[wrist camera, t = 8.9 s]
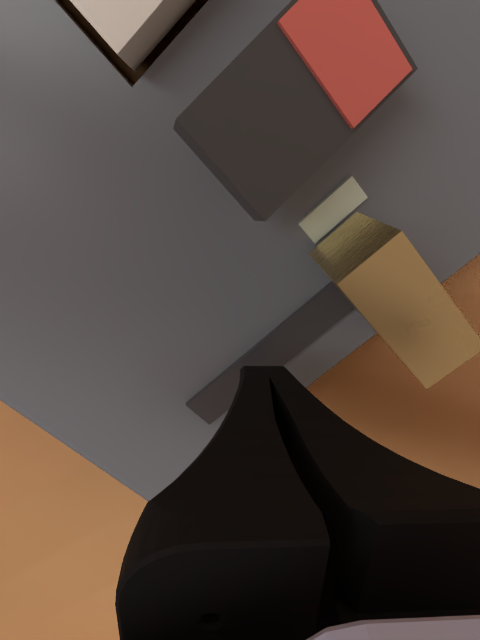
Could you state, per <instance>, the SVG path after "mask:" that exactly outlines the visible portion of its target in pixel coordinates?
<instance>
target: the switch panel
mask: <svg viewBox="0 0 480 640" xmlns="http://www.w3.org/2000/svg"><path fill="white" fill-rule="evenodd" d="M291 1H292V0H208V1H207V2H206V3H205V5H204V6H203V7H202V8H201V9H200V10H199V11H198V13H197V14H196V15H195V16H194V17H193V18H192V19H191V21H190V22H189V23H188V24H187V25H186V26H185V27H184V28H183V30H182V31H181V32H180V33H179V34H178V35H177V36H176V38H175V39H174V40H173V41H172V42H171V43H170V44H169V46H168V47H167V48H166V49H165V50H164V51H163V52H162V54H161V55H160V56H159V57H158V58H157V59H156V60H155V61H154V63H153V64H152V65H151V66H150V67H149V68H148V69H147V71H146V72H145V73H144V74H143V75H142V76H141V77H140V79H139V80H138V81H137V82H136V83H135V84H134V85H132V84H131V83H130V81H129V80H128V79H127V78H126V77H125V76H124V75H123V74H122V72H121V71H120V70H119V69H118V68H117V67H116V66H115V64H114V63H113V62H112V61H111V60H110V59H109V58H108V57H107V55H106V54H105V53H104V52H103V51H102V50H101V49H100V48H99V46H98V45H97V44H96V43H95V42H94V41H93V40H92V39H91V37H90V36H89V35H88V34H87V33H86V32H85V31H84V29H83V28H82V27H81V26H80V25H79V24H78V23H77V22H76V20H75V19H74V18H73V17H72V16H71V15H70V14H69V13H68V11H67V10H66V9H65V8H64V7H63V6H62V5H61V4H60V2H59V1H58V0H0V400H1V401H2V402H4V403H5V404H7V405H8V406H10V407H11V408H13V409H14V410H16V411H17V412H19V413H20V414H21V415H23V416H24V417H26V418H27V419H29V420H30V421H32V422H33V423H35V424H36V425H38V426H39V427H40V428H42V429H43V430H45V431H46V432H48V433H49V434H51V435H52V436H54V437H55V438H57V439H58V440H59V441H61V442H62V443H64V444H65V445H67V446H68V447H70V448H71V449H73V450H74V451H76V452H77V453H78V454H80V455H81V456H83V457H84V458H86V459H87V460H89V461H90V462H92V463H93V464H95V465H96V466H97V467H99V468H100V469H102V470H103V471H105V472H106V473H108V474H109V475H111V476H112V477H114V478H115V479H116V480H118V481H119V482H121V483H122V484H124V485H125V486H127V487H128V488H130V489H131V490H133V491H134V492H135V493H137V494H138V495H140V496H141V497H143V498H144V499H146V500H147V501H150V500H151V499H152V498H154V497H155V496H156V495H157V494H159V493H160V492H161V491H162V490H163V489H165V488H166V487H167V486H168V485H170V484H171V483H172V482H173V481H174V480H175V479H176V478H178V477H179V476H180V474H181V473H182V472H183V471H184V470H185V469H186V468H187V467H188V466H189V465H190V464H191V463H192V462H193V461H194V460H195V459H196V458H197V457H198V456H199V454H200V453H201V452H202V451H203V449H204V448H205V447H206V446H207V444H208V443H209V442H210V440H211V439H212V438H213V436H214V435H215V433H216V432H217V430H218V428H219V427H220V425H221V423H222V422H223V420H224V418H225V416H226V414H227V412H228V410H229V408H230V406H231V404H232V402H233V400H234V397H235V394H236V391H237V389H238V385H239V382H240V369H241V368H242V367H243V366H284V367H285V368H286V369H287V370H288V371H289V372H290V373H291V374H292V375H293V376H294V377H295V378H296V379H297V380H298V381H299V382H300V383H301V384H302V385H303V386H304V387H305V388H306V387H308V386H309V385H310V384H311V383H313V382H314V381H315V380H317V379H318V378H319V377H321V376H322V375H323V374H324V373H326V372H327V371H328V370H330V369H331V368H332V367H333V366H335V365H336V364H337V363H339V362H340V361H341V360H343V359H344V358H345V357H346V356H348V355H349V354H350V353H352V352H353V351H354V350H355V349H357V348H358V347H359V346H361V345H362V344H363V343H365V342H366V341H367V340H368V339H370V338H371V337H372V336H374V335H375V334H376V332H375V331H374V330H373V329H372V328H371V326H370V325H369V324H368V323H367V322H366V321H365V319H364V318H363V317H362V316H361V315H360V314H359V312H358V311H357V310H356V309H355V308H354V307H353V305H352V304H351V303H350V302H349V301H348V300H347V298H346V297H345V296H344V295H343V294H342V293H341V291H340V290H339V289H338V288H337V287H336V285H335V284H334V283H333V282H332V281H331V280H330V278H329V277H328V276H327V275H326V274H325V273H324V271H323V270H322V269H321V268H320V267H319V266H318V264H317V263H316V262H315V261H314V260H313V259H312V257H311V256H310V255H309V254H308V253H310V252H311V251H312V250H313V249H314V248H315V247H316V246H318V245H319V244H320V243H321V242H322V241H323V240H324V239H326V238H327V237H328V236H329V235H330V234H331V233H333V232H334V231H335V230H336V229H337V228H338V227H339V226H341V225H342V224H343V223H344V222H345V221H346V220H347V219H349V218H350V217H351V216H352V215H353V214H354V213H356V212H358V213H361V214H363V215H365V216H368V217H370V218H373V219H375V220H377V221H380V222H382V223H385V224H387V225H390V226H392V227H394V228H397V229H399V230H402V232H403V233H404V234H405V236H406V237H407V238H408V240H409V241H410V243H411V244H412V245H413V247H414V248H415V249H416V251H417V252H418V254H419V255H420V256H421V258H422V259H423V260H424V262H425V263H426V265H427V266H428V267H429V269H430V270H431V271H432V273H433V274H434V276H435V277H436V278H437V280H438V281H439V282H440V284H441V283H442V282H443V281H445V280H446V279H447V278H449V277H450V276H451V275H453V274H454V273H455V272H456V271H458V270H459V269H460V268H462V267H463V266H464V265H465V264H467V263H468V262H469V261H471V260H472V259H473V258H475V257H476V256H477V255H478V254H480V0H377V1H378V3H379V4H380V6H381V8H382V9H383V11H384V13H385V14H386V16H387V18H388V19H389V21H390V23H391V24H392V26H393V28H394V29H395V31H396V33H397V34H398V36H399V38H400V39H401V41H402V43H403V44H404V46H405V48H406V49H407V51H408V53H409V54H410V56H411V58H412V59H413V61H414V63H415V64H416V66H417V68H418V69H417V70H416V71H415V72H414V73H413V74H412V75H411V76H410V77H409V78H408V79H407V80H406V81H405V82H404V83H403V84H402V85H401V86H400V87H399V88H398V89H397V90H396V91H395V92H394V93H393V94H392V95H391V96H390V97H389V98H388V99H387V100H386V101H385V102H384V103H383V104H382V105H381V106H380V107H379V108H378V109H377V110H376V111H375V112H374V113H373V114H372V115H371V116H370V117H369V118H368V119H367V120H366V121H365V122H364V123H363V124H362V125H361V126H360V127H359V128H358V129H357V130H356V131H355V132H354V133H353V134H352V135H351V136H350V137H349V138H348V139H347V140H346V141H345V142H344V143H343V144H342V145H341V146H340V147H339V148H338V149H337V150H336V151H335V152H334V153H333V154H332V155H331V156H330V157H329V158H328V159H327V160H326V161H325V162H324V163H323V164H322V165H321V166H320V167H319V168H318V169H317V170H316V171H315V172H314V173H313V174H312V175H311V176H310V177H309V178H308V179H307V180H306V181H305V182H304V183H303V184H302V185H301V186H300V187H299V188H298V189H297V190H296V191H295V192H294V193H293V194H292V195H291V196H290V197H289V198H288V199H287V200H286V201H285V202H284V203H283V204H282V205H281V206H280V207H279V208H278V209H277V210H276V211H275V212H274V213H273V214H272V215H271V216H270V217H269V218H268V219H267V220H266V221H254V220H253V219H252V218H251V216H250V215H249V214H248V213H247V212H246V211H245V210H244V209H243V207H242V206H241V205H240V204H239V203H238V202H237V201H236V199H235V198H234V197H233V196H232V195H231V194H230V193H229V192H228V190H227V189H226V188H225V187H224V186H223V185H222V184H221V183H220V181H219V180H218V179H217V178H216V177H215V176H214V175H213V173H212V172H211V171H210V170H209V169H208V168H207V167H206V166H205V164H204V163H203V162H202V161H201V160H200V159H199V158H198V157H197V155H196V154H195V153H194V152H193V151H192V150H191V149H190V147H189V146H188V145H187V144H186V143H185V142H184V141H183V140H182V138H181V137H180V136H179V135H178V134H177V133H176V132H175V131H174V129H173V128H174V124H175V120H176V118H177V117H178V116H179V115H180V114H181V113H182V112H183V111H184V110H185V109H186V108H187V107H188V106H189V105H190V104H191V103H192V102H193V101H194V100H195V99H196V97H197V96H198V95H199V94H200V93H201V92H202V91H203V90H204V89H205V88H206V87H207V86H208V85H209V84H210V83H211V82H212V81H213V80H214V79H215V78H216V77H217V76H218V75H219V74H220V73H221V72H222V71H223V70H224V69H225V68H226V67H227V66H228V65H229V64H230V63H231V62H232V61H233V60H234V59H235V58H236V57H237V56H238V55H239V54H240V53H241V52H242V51H243V50H244V49H245V48H246V47H247V45H248V44H249V43H250V42H251V41H252V40H253V39H254V38H255V37H256V36H257V35H258V34H259V33H260V32H261V31H262V30H263V29H264V28H265V27H266V26H267V25H268V24H269V23H270V22H271V21H272V20H273V19H274V18H275V17H276V16H277V15H278V14H279V13H280V12H281V11H282V10H283V9H284V8H285V7H286V6H287V5H288V4H289V3H290V2H291Z"/></svg>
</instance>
